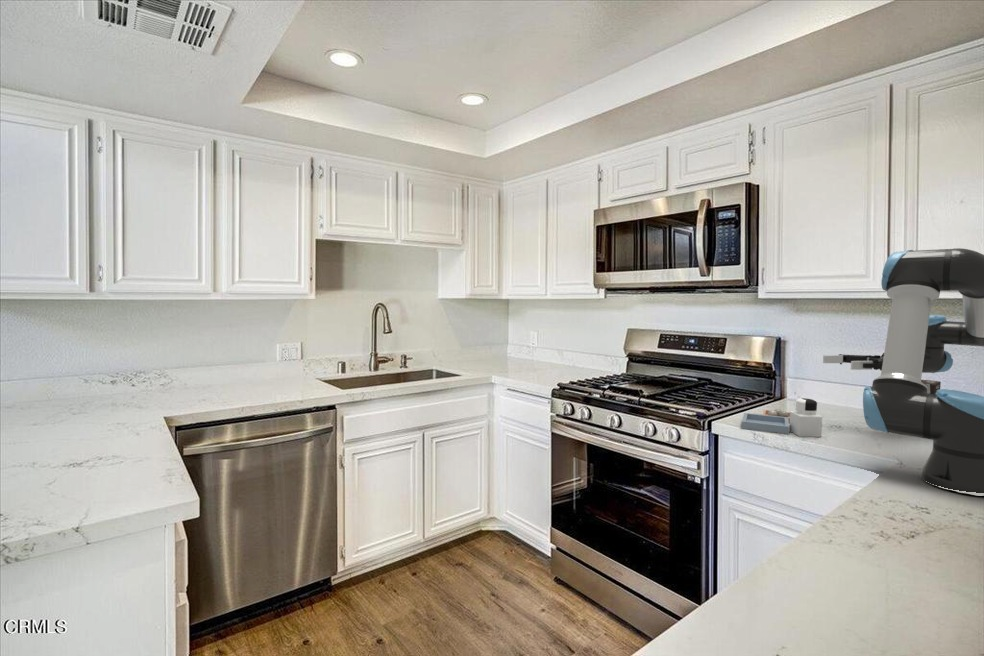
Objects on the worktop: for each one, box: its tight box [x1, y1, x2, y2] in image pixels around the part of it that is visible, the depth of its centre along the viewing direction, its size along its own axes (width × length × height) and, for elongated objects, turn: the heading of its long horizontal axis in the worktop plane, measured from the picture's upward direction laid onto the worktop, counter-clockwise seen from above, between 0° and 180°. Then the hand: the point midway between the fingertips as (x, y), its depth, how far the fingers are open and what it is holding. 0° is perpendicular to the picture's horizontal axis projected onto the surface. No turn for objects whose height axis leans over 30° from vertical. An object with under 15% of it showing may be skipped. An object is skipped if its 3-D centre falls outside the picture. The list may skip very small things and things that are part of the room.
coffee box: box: [921, 379, 942, 395], centre depth 182 cm, size 9×6×16 cm
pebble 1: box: [768, 409, 777, 416], centre depth 190 cm, size 3×3×3 cm
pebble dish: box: [762, 409, 790, 424], centre depth 191 cm, size 10×10×2 cm
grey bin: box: [741, 412, 790, 435], centre depth 181 cm, size 14×14×3 cm
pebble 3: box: [779, 410, 788, 417], centre depth 189 cm, size 3×3×3 cm
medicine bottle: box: [789, 397, 823, 438], centre depth 171 cm, size 7×7×12 cm
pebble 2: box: [773, 408, 783, 416], centre depth 193 cm, size 3×3×3 cm
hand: (837, 362), depth 170 cm, fingers open, 13 cm apart
